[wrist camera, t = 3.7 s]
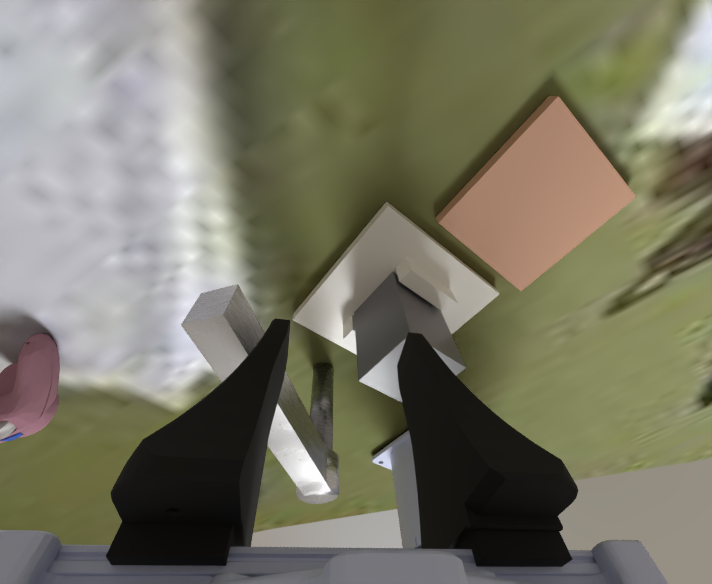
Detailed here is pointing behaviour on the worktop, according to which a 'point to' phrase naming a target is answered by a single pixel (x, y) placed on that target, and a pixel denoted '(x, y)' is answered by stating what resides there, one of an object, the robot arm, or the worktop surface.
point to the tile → (536, 196)
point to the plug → (397, 334)
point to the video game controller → (29, 389)
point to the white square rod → (291, 420)
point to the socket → (366, 272)
